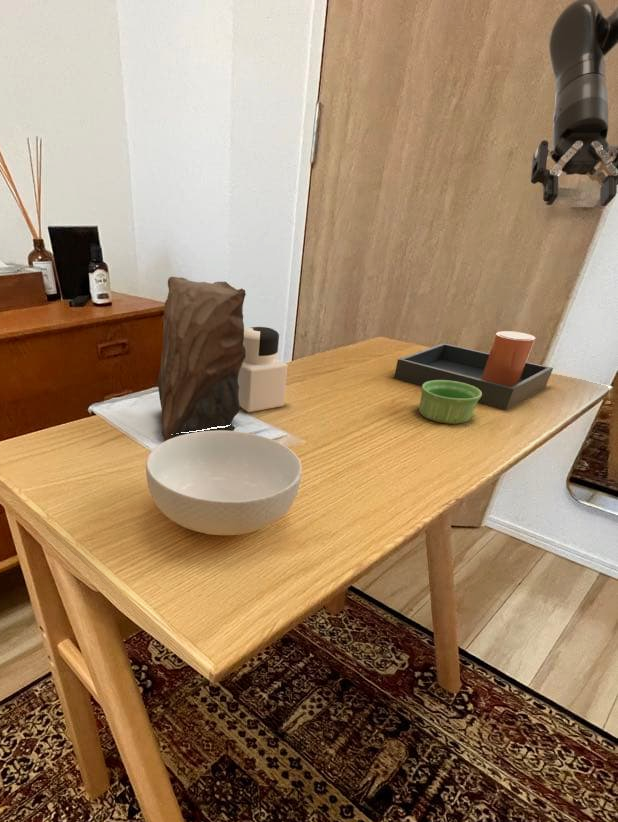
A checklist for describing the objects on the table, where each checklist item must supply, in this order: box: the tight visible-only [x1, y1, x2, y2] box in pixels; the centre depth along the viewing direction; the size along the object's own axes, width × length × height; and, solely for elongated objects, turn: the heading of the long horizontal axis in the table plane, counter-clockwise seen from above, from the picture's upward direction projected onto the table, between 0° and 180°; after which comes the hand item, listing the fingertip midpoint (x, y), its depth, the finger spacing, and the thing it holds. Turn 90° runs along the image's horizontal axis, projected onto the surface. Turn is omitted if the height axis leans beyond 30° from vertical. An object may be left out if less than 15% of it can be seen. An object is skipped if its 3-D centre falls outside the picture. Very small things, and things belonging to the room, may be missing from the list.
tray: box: [393, 342, 554, 411], centre depth 93 cm, size 18×22×4 cm
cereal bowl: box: [145, 430, 303, 536], centre depth 55 cm, size 17×17×7 cm
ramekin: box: [418, 380, 482, 425], centre depth 80 cm, size 9×9×4 cm
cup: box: [481, 330, 536, 387], centre depth 88 cm, size 6×6×9 cm
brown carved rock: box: [157, 276, 247, 442], centre depth 72 cm, size 13×13×20 cm
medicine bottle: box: [238, 326, 288, 413], centre depth 81 cm, size 7×7×12 cm
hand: (579, 201), depth 82 cm, fingers open, 8 cm apart
